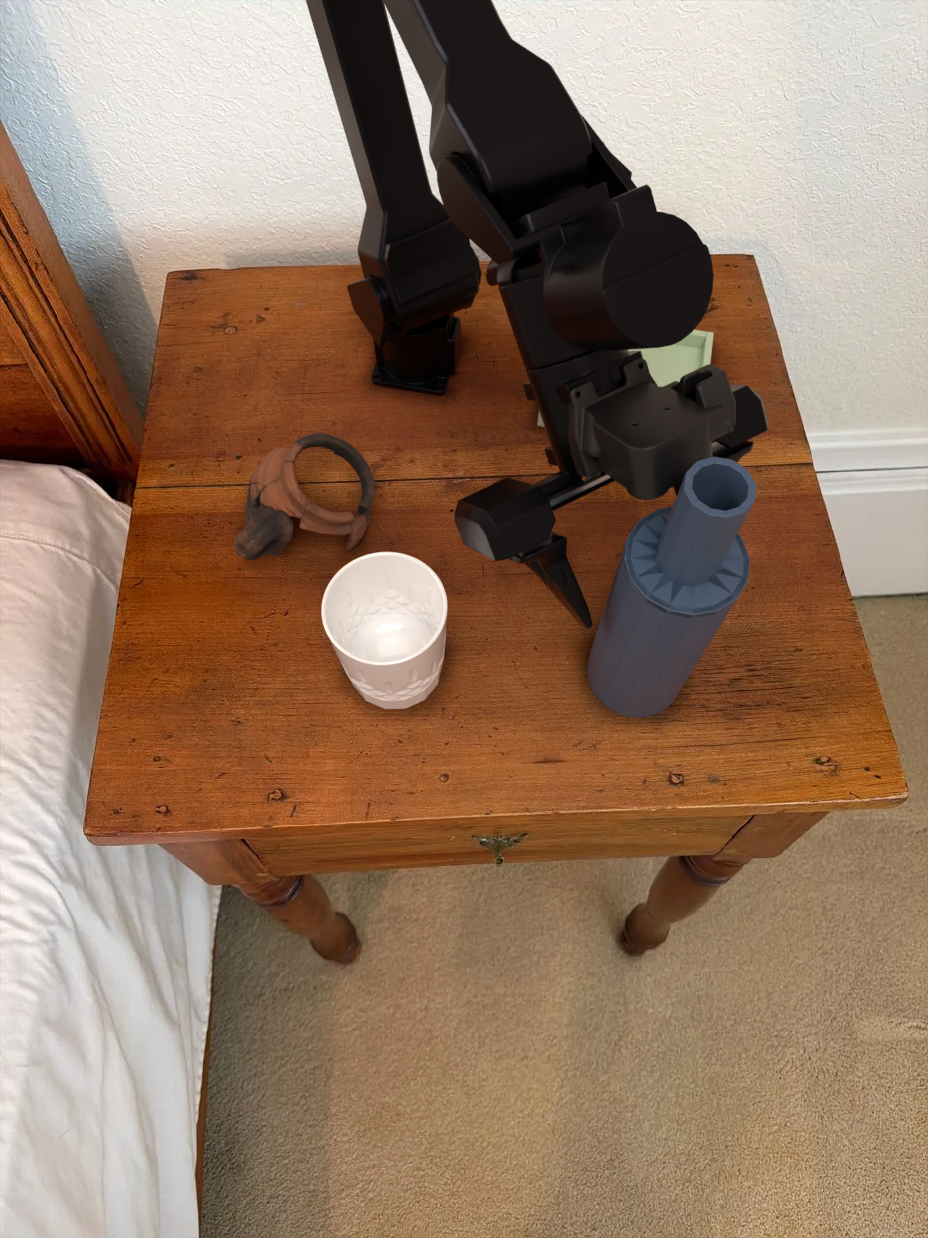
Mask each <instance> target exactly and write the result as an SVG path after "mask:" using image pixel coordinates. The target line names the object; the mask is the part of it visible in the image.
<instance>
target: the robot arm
mask: <svg viewBox="0 0 928 1238" xmlns="http://www.w3.org/2000/svg"><path fill="white" fill-rule="evenodd" d="M305 3H306V7H307V10H308V13H309V17H310V19H311V23H312V27H313V30H314V33H315V37H316V40H317V42H318V47H319V49H320V53H321V57H322V60H323V63H324V67H325V70H326V73H327V77H328V80H329V83H330V87H331V91H332V94H333V97H334V101H335V105H336V107H337V111H338V115H339V117H340V121H341V125H342V127H343V131H344V134H345V137H346V138H345V139H346V141H347V144H348V148H349V151H350V154H351V158H352V162H353V165H354V168H355V171H356V176H357V179H358V181H359V185H360V188H361V191H362V196H363V199H364V203H365V207H366V208H365V212H364V217H363V222H362V225H361V230H360V235H359V239H358V244H357V255H358V258H359V259H358V260H359V262H360V266H361V271H362V273H363V275H362V276H363V278H361V279H359V280H356V281H354V282H351V283H349V284H346V288H347V292H348V294H349V295H348V296H349V299H350V303H351V306H352V310H353V311H354V312H355V314H356V315H357V317H358V319H359V320H360V322H361V323H362V324H363V326H364V327H365V328H366V330H367V332H368V333H369V335H370V336H371V337H372V342H373V349H374V356H375V363H374V366H373V369H372V372H371V375H370V380H371V383H372V384H373V385H376V386H381V387H388V388H393V389H399V390H400V389H401V390H407V391H411V392H416V393H417V392H419V393H424V394H431V395H436V396H443V395H445V394H446V392H447V390H448V386H449V382H450V378H451V376H453V375H455V374H456V372H457V368H458V365H459V361H460V357H461V354H462V319H461V318H460V316H455V313H457V312H460V311H462V310H467V309H470V308H471V307H472V306H473V303H474V301H475V299H476V295H477V294H479V291H480V285H481V282H482V277H483V274H482V270H481V265H480V258H479V256H478V255H477V254H476V251H475V250H474V248H473V247H472V245H471V242H472V243H473V244H474V245H476V246H477V247H478V248H479V249H480V250H481V251H483V253H484V254H485V255H487V256H488V258H490V261H489V262H488V265H487V267H486V273H485V281H486V283H487V285H488V286H490V287H494V286H498V287H497V288H498V292H499V294H500V297H501V301H502V303H503V306H504V309H505V311H506V312H505V313H506V315H507V318H508V322H509V324H510V327H511V330H512V333H513V336H514V339H515V343H516V345H517V348H518V351H519V355H520V357H521V360H522V363H523V366H524V369H525V372H526V375H527V378H528V381H526V382H524V383H522V384H521V385H522V388H523V391H524V394H525V396H526V400H527V401H534V402H535V403H536V405H537V408H538V412H539V411H540V414H541V417H542V420H543V423H544V426H545V427H544V429H545V431H546V435H547V438H548V441H549V444H550V445H549V446H547V447H546V448H544V450H543V451H544V453H545V457H546V459H547V462H548V465H551V466H555V467H557V468H558V472H555V473H553V474H551V475H549V476H546V477H545V478H542V479H540V480H539V481H537V482H535V483H529V482H527V481H522V480H518V479H515V478H513V477H512V478H511V477H504V478H503V479H500V480H498V481H497V482H494V483H492V484H490V485H488V486H486V487H484V488H481V489H480V490H477V491H476V492H475V491H474V492H473V493H471V494H469V495H467V496H464V497H462V498H460V499H458V500H457V503H456V507H455V511H454V523H455V526H456V528H457V531H458V533H459V536H460V539H461V541H462V543H463V546H465V547H467V548H469V549H470V550H473V551H474V552H476V553H478V554H481V555H482V556H485V557H486V558H488V559H491V560H492V561H494V562H499V561H504V560H510V561H512V562H514V563H516V564H519V565H523V564H524V565H525V566H526V567H527V568H528V569H529V570H531V571H532V573H534V575H536V577H537V578H539V579H540V581H541V582H542V583H543V584H544V586H546V588H547V589H548V590H549V591H550V592H551V594H553V596H554V597H555V598H556V599H557V600H558V601H559V603H561V605H562V606H563V607H564V608H565V610H567V611H568V613H569V614H570V615H571V616H572V617H573V618H574V620H575V621H576V622H577V623H578V624H579V625H580V626H581V627H583V628H585V629H586V630H589V629H591V628H593V625H594V624H593V620H592V617H591V612H590V609H589V605H588V602H587V601H586V599H585V596H584V593H583V592H582V590H581V586H580V584H579V581H578V580H577V577H576V575H575V573H574V571H573V568H572V565H571V563H570V561H569V558H568V556H567V555H568V553H567V552H568V537H567V536H565V535H562V534H560V533H557V532H555V531H553V529H554V527H555V525H556V522H557V519H556V515H555V513H554V512H555V511H556V510H558V509H561V508H562V507H565V506H567V505H569V504H571V503H573V502H575V501H577V500H579V499H581V498H583V497H585V496H587V495H589V494H591V493H593V492H595V491H598V490H599V489H602V488H603V487H606V486H608V485H610V484H612V483H614V482H616V483H618V484H619V485H621V486H622V487H623V488H625V490H626V492H627V493H628V495H630V496H632V497H633V498H635V499H638V500H642V501H652V500H655V499H659V498H661V497H662V496H666V494H667V493H668V492H669V490H671V489H672V488H673V490H674V493H675V496H676V497H677V494H678V492H679V489H680V487H681V484H682V482H683V479H684V476H685V474H686V472H687V471H688V470H689V469H690V468H691V467H692V466H693V465H694V464H695V463H696V462H697V461H700V460H704V459H707V458H711V457H719V458H725V459H731V460H734V461H735V462H737V463H738V464H739V461H741V459H742V458H743V457H744V456H745V455H748V454H749V453H751V452H752V451H753V448H754V441H753V440H751V439H753V438H755V437H757V436H760V435H761V434H763V433H765V432H768V431H769V428H770V423H769V420H768V415H767V411H766V406H765V403H764V399H762V397H761V396H760V395H759V394H758V393H757V392H756V390H755V389H753V388H751V386H749V385H748V384H730V381H729V378H728V375H727V371H725V370H723V369H722V368H720V367H718V366H717V365H713V364H711V363H710V364H708V365H705V366H703V367H701V368H699V369H697V370H695V371H693V372H691V373H688V374H686V375H684V376H683V377H682V378H681V379H680V381H679V382H678V381H674V382H672V383H670V384H668V385H666V386H663V387H659V386H658V385H657V384H656V382H655V381H654V379H653V378H652V376H651V374H650V372H649V368H648V365H647V362H646V360H645V359H643V357H642V353H641V351H628V350H630V349H647V348H660V347H665V346H671V345H673V344H676V343H678V342H680V341H682V340H683V339H684V338H685V337H687V336H688V335H689V334H690V333H692V332H693V330H696V328H697V326H698V325H699V324H700V323H701V322H702V320H703V319H704V316H705V314H706V312H707V310H708V308H709V305H710V302H711V298H712V294H713V290H714V277H715V276H714V267H713V266H714V265H713V259H712V255H711V253H710V248H709V247H708V246H707V244H705V243H703V240H702V239H701V237H700V235H699V234H698V232H697V231H696V230H695V229H694V228H693V227H692V226H691V225H690V224H689V223H688V222H687V221H686V220H684V219H682V218H680V217H679V216H677V215H676V214H672V213H668V212H663V211H658V210H657V206H656V203H655V198H654V195H653V191H652V188H651V187H650V185H649V184H644V185H641V186H639V187H638V186H637V185H636V184H635V182H634V181H633V180H632V175H633V171H631V170H630V169H629V168H628V167H627V166H626V165H625V164H624V163H623V162H622V161H621V160H620V159H618V157H616V156H615V155H614V154H613V153H612V152H611V150H610V149H609V148H608V147H607V146H606V144H605V142H604V141H603V140H602V139H601V137H600V136H599V135H598V134H597V132H596V131H595V130H594V129H593V127H592V126H591V125H590V123H589V122H588V120H587V119H586V118H585V116H583V115H582V114H581V112H580V110H579V109H578V106H576V103H575V101H574V100H573V99H572V97H571V96H570V94H569V92H568V91H567V89H566V87H565V85H564V84H563V81H562V80H561V79H560V77H559V75H558V73H557V72H556V70H555V69H554V67H553V65H551V64H550V63H549V62H548V61H546V60H545V59H543V58H542V57H540V56H539V55H537V54H535V52H533V51H531V50H529V49H528V48H527V47H525V46H524V45H522V44H520V43H519V42H517V41H515V40H514V39H513V38H512V36H511V35H510V32H509V31H508V29H507V28H506V26H505V24H504V22H503V21H502V19H501V17H500V15H499V13H498V11H497V9H496V6H495V4H494V2H493V0H305ZM387 12H388V13H387ZM388 14H389V16H390V19H391V20H392V23H393V26H394V27H395V29H396V31H397V33H398V35H399V37H400V39H401V41H402V44H403V46H404V48H405V50H406V52H407V55H408V56H409V58H410V61H411V62H412V64H413V66H414V70H415V71H416V73H417V75H418V77H419V79H420V81H421V83H422V85H423V88H424V91H425V94H426V96H427V98H428V101H429V103H430V106H431V113H430V116H431V117H430V126H429V127H430V128H429V129H430V130H429V143H428V153H429V157H430V159H431V162H432V165H433V167H434V169H435V172H436V183H437V187H438V193H439V195H440V199H441V201H440V199H438V197H437V196H435V194H434V193H433V191H432V190H433V189H432V187H431V184H430V179H429V176H428V173H427V168H426V164H425V160H424V156H423V151H422V149H421V145H420V140H419V136H418V132H417V129H416V128H417V127H416V124H415V120H414V116H413V113H412V108H411V104H410V101H409V97H408V91H407V88H406V85H405V80H404V77H403V73H402V72H403V71H402V68H401V64H400V60H399V56H398V52H397V48H396V43H395V41H394V37H393V33H392V29H391V25H390V22H389V16H388Z"/></svg>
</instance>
